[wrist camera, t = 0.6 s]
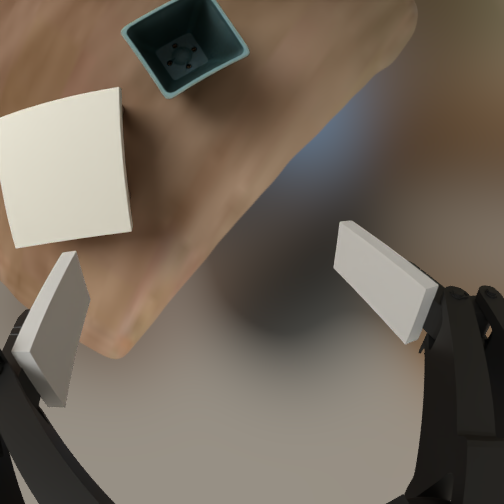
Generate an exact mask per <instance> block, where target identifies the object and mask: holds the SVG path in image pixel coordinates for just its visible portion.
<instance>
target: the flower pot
mask: <svg viewBox="0 0 504 504" xmlns="http://www.w3.org/2000/svg"><path fill="white" fill-rule="evenodd" d="M121 34H122V36H123V38H124V39H125V40H126V41H127V43H128V44H129V46H130V47H131V48H132V50H133V51H134V53H135V54H136V56H137V57H138V58H139V60H140V61H141V63H142V64H143V66H144V67H145V69H146V70H147V71H148V73H149V74H150V76H151V77H152V79H153V80H154V82H155V83H156V85H157V86H158V88H159V90H160V91H161V93H162V94H163V96H164V97H165V98H166V99H172V98H174V97H176V96H177V95H179V94H180V93H182V92H183V91H185V90H186V89H188V88H190V87H191V86H193V85H195V84H196V83H198V82H200V81H201V80H203V79H205V78H206V77H208V76H210V75H212V74H214V73H215V72H217V71H219V70H221V69H223V68H225V67H227V66H229V65H231V64H233V63H234V62H237V61H239V60H241V59H243V58H245V57H247V56H248V55H249V54H250V51H249V48H248V46H247V45H246V43H245V42H244V40H243V39H242V37H241V36H240V34H239V33H238V32H237V30H236V29H235V27H234V26H233V25H232V23H231V21H230V20H229V18H228V17H227V16H226V14H225V13H224V11H223V10H222V8H221V7H220V5H219V4H218V3H217V1H216V0H171V1H169V2H167V3H165V4H163V5H161V6H159V7H158V8H156V9H154V10H152V11H150V12H149V13H147V14H145V15H143V16H142V17H140V18H138V19H136V20H135V21H133V22H131V23H129V24H128V25H126V26H125V27H124V28H123V29H122V30H121ZM174 44H176V45H177V47H176V48H173V45H174ZM193 47H195V48H196V51H192V48H193ZM169 61H171V62H172V64H171V65H168V64H167V63H168V62H169ZM188 64H190V65H191V67H190V68H187V65H188Z"/></svg>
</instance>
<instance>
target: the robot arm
mask: <svg viewBox="0 0 504 504" xmlns="http://www.w3.org/2000/svg"><path fill="white" fill-rule="evenodd" d="M334 269H335V270H336V271H337V272H338V273H339V274H340V275H341V276H342V277H343V278H344V279H345V280H346V281H347V282H348V283H349V284H350V285H351V286H352V287H353V288H354V289H355V290H356V292H357V293H358V294H359V295H360V296H361V297H362V298H363V299H364V300H365V301H366V302H367V303H368V304H369V305H370V306H371V307H372V309H373V310H374V311H375V312H376V313H377V314H378V315H379V316H380V317H381V318H382V319H383V320H384V322H385V323H386V324H387V325H388V326H389V327H390V328H391V329H392V330H393V331H394V333H395V334H397V336H398V337H399V338H400V339H401V340H402V341H403V343H405V344H408V343H410V342H413V341H415V340H417V339H418V338H419V335H420V333H421V331H422V328H423V329H424V330H425V331H426V332H427V334H426V336H425V339H424V341H423V343H422V345H421V348H420V350H419V353H421V352H422V350H423V349H424V348H425V353H424V354H425V373H424V374H425V376H424V377H425V378H424V399H423V412H422V424H421V434H420V441H419V449H418V456H417V462H416V468H415V473H414V476H413V479H412V480H411V482H410V484H409V486H408V487H407V490H406V492H405V495H401V496H399V497H397V498H396V499H394V500H392V501H390V502H388V503H387V504H504V298H503V296H502V295H501V294H500V293H499V292H498V291H497V290H496V289H495V288H493V287H491V286H481V287H480V288H479V290H478V293H477V295H476V296H469V294H468V293H467V292H466V291H464V290H462V289H461V288H458V287H454V286H449V287H446V288H444V287H443V286H442V285H440V284H439V283H438V282H437V281H436V280H434V279H433V278H432V277H430V276H429V275H428V274H426V273H425V272H424V271H423V270H420V268H419V267H417V266H416V265H415V264H413V263H412V262H410V261H408V260H406V259H404V258H403V257H402V256H400V255H399V254H398V253H396V252H395V251H394V250H392V249H391V248H390V247H388V246H387V245H386V244H384V243H383V242H381V241H380V240H379V239H377V238H376V237H374V236H373V235H371V234H370V233H369V232H367V231H366V230H365V229H363V228H362V227H360V226H359V225H357V224H356V223H354V222H353V221H342V222H340V224H339V232H338V240H337V247H336V255H335V262H334ZM89 303H90V297H89V293H88V290H87V287H86V284H85V281H84V277H83V274H82V270H81V267H80V263H79V259H78V256H77V252H76V251H71V252H64V253H62V254H61V256H60V257H59V259H58V261H57V262H56V264H55V266H54V267H53V269H52V271H51V273H50V274H49V276H48V278H47V280H46V281H45V283H44V285H43V287H42V289H41V290H40V292H39V294H38V296H37V298H36V300H35V302H34V304H33V306H32V308H31V309H28V310H25V311H24V312H23V313H22V314H21V315H20V316H19V317H18V319H17V321H16V323H15V325H14V328H13V329H12V331H11V333H10V334H11V335H9V337H8V339H7V342H6V344H5V346H4V348H3V351H1V349H0V504H25V502H24V500H23V497H22V494H21V491H20V488H19V485H18V482H17V479H16V476H15V472H14V469H13V465H12V461H11V457H10V454H11V456H12V458H13V460H14V462H15V464H16V466H17V468H18V470H19V471H20V473H21V475H22V477H23V478H24V480H25V482H26V484H27V485H28V487H29V489H30V490H31V492H32V493H33V495H34V497H35V498H36V500H37V501H38V503H39V504H115V503H114V502H113V501H112V500H111V499H110V498H109V497H108V496H107V495H106V494H105V493H104V491H103V490H102V489H101V488H100V487H99V486H98V485H97V484H96V483H95V481H94V480H93V479H92V478H91V477H90V476H89V474H88V473H87V472H86V471H85V470H84V468H83V467H82V466H81V465H80V463H79V462H78V461H77V460H76V458H75V457H74V456H73V454H72V453H71V452H70V451H69V449H68V448H67V446H66V445H65V444H64V442H63V441H62V439H61V438H60V436H59V435H58V434H57V432H56V431H55V429H54V428H53V426H52V425H51V423H50V422H49V420H48V419H47V417H46V415H45V414H44V412H43V411H42V409H41V408H40V407H39V401H40V397H41V398H42V399H43V401H44V402H45V403H46V404H47V406H48V407H65V406H66V400H67V394H68V389H69V384H70V379H71V373H72V369H73V364H74V360H75V356H76V351H77V347H78V343H79V339H80V335H81V331H82V328H83V324H84V320H85V317H86V313H87V310H88V307H89ZM489 326H491V328H492V332H491V334H490V336H489V337H488V338H487V337H486V335H485V334H486V332H487V330H488V328H489ZM9 452H10V453H9ZM450 500H451V501H450Z"/></svg>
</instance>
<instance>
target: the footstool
mask: <svg viewBox="0 0 504 504" xmlns="http://www.w3.org/2000/svg"><path fill="white" fill-rule="evenodd" d="M123 113H124V107H123V106H122V93H121V88H120V87H116V88H110V89H105V90H99V91H94V92H89V93H84V94H79V95H75V96H71V97H66V98H62V99H58V100H54V101H51V102H47V103H43V104H40V105H37V106H33V107H30V108H27V109H24V110H21V111H18V112H15V113H12V114H9V115H6V116H3V117H0V181H1V187H2V192H3V197H4V203H5V207H6V212H7V216H8V221H9V225H10V229H11V233H12V237H13V240H14V244H15V247H16V248H21V247H27V246H34V245H40V244H46V243H53V242H59V241H66V240H73V239H80V238H87V237H94V236H101V235H109V234H116V233H124V232H132V228H133V222H132V215H131V208H130V198H131V194H130V191H129V190H128V184H127V174H126V164H125V152H124V139H123V122H122V115H123Z"/></svg>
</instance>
